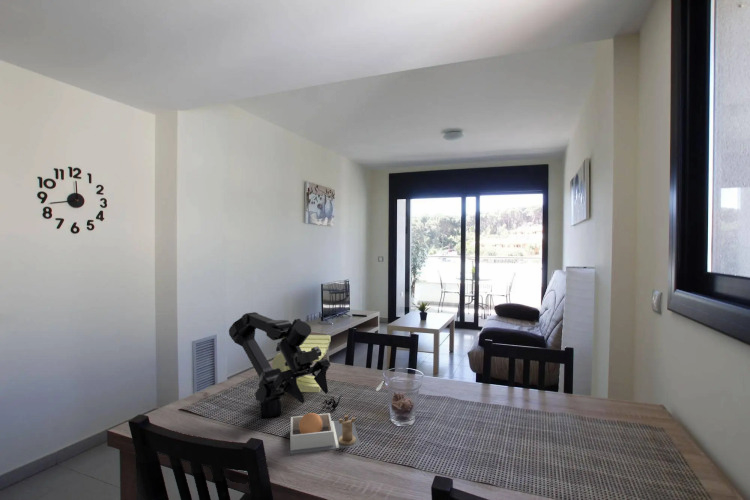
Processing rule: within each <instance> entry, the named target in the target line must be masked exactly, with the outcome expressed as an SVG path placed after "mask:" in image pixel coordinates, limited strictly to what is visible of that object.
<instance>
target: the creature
mask: <svg viewBox="0 0 750 500" xmlns="http://www.w3.org/2000/svg"><path fill="white" fill-rule="evenodd" d="M326 395H327V397H329V396H328V394H326ZM341 397H343V395H340V396H339V397H338V399H337V400H338V401H337V402H336V400H335V397H334V396H332V398H327V399H325V400H324V402H322V403H321V405H322V406H323V405H324V406H323V407H322V408H321V410H323V409H325V408H326V406H330V405H331V406H330V408H329V410H331V409H336V408H337V407H338V406H339V403H340V399H341Z"/></svg>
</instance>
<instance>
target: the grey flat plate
mask: <svg viewBox="0 0 750 500" xmlns="http://www.w3.org/2000/svg"><path fill="white" fill-rule="evenodd" d="M344 420H345V419H343V421H344ZM348 420H351V421H352V418H351V419H349V418H348ZM331 421H332V426H333V431H334V445H333V446H324V447H315V448H306V449H297V450H290V449H289V455H294V454H295V455H296V454H303V453H312V452H319V451H320V452H321V451H327V450H329V451H330V450H339V449H346V448H347V449H348V448H353V447H354V448H356V447H362V445H361V441H360V438H359V436H358V432H357V429H356V425H355V422H352V435H353V436H355V437H356V442H355V443H354V444H352V445H342V444H340V443H339V438H340V437H341V436H342V423H341V424H339V420H331ZM325 431H329V428H328V427H322V430H321V432H325ZM296 434H301V433H300V430H293V435H296Z"/></svg>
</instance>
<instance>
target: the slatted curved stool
mask: <svg viewBox="0 0 750 500" xmlns="http://www.w3.org/2000/svg"><path fill="white" fill-rule="evenodd" d="M331 338H332V337H331V335H330V334H329V335H327V334H325V335H323V334H310V335H309V336H308V337H307V339H306V340H305V341H304V343H303V344H302V345H300V346H299V347H300V349H301V350H302V351H304V350H305V351H306V352H308V351H311V348H314V347H317V346H318V347H319V349H320V350H321V353H322V354H321V356H319V360H323V359H324V356H325V355H326V354H327V350H328V349H329V346H330V343H331ZM319 360H314V361H313V363H316V362H317V361H319ZM285 363H286V360H285V358H284V356H283V354H282V352H279V353H277V354H276V355H275V356H274V357H273V358H272V368H273V369H277V368H279V369H280V370H281V372H283V371H287V370H290V368H289V366H285ZM314 378H315V376H313V375H309V374H308V375H305V376H302V377H299V378H296V380H297V385H298V387H299V389H300V391H301V393H320V392H321V390H322V389H321V388H320V386H319V385H318V384H317V382H316V381H315V380H314Z"/></svg>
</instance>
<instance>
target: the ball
mask: <svg viewBox="0 0 750 500" xmlns="http://www.w3.org/2000/svg"><path fill="white" fill-rule="evenodd" d="M302 416H303V417H302V418H301V420H300V423H299V430H300V433H301V434H306V433H315V432H321V430H322V420H321V418H320V416H319V415H317V413H315V412H308V413H306V414H304V415H302Z"/></svg>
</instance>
